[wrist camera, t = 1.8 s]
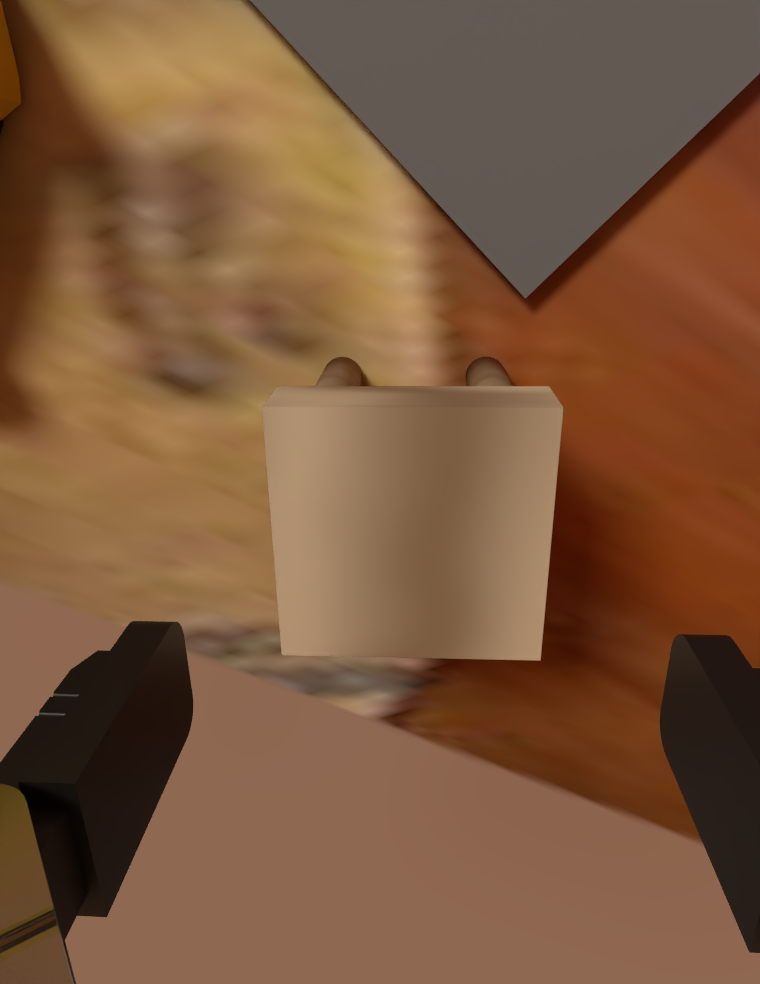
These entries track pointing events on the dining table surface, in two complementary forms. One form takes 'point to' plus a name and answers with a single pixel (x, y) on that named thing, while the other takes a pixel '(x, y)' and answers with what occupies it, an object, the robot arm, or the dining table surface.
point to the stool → (412, 514)
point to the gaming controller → (7, 72)
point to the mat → (528, 102)
